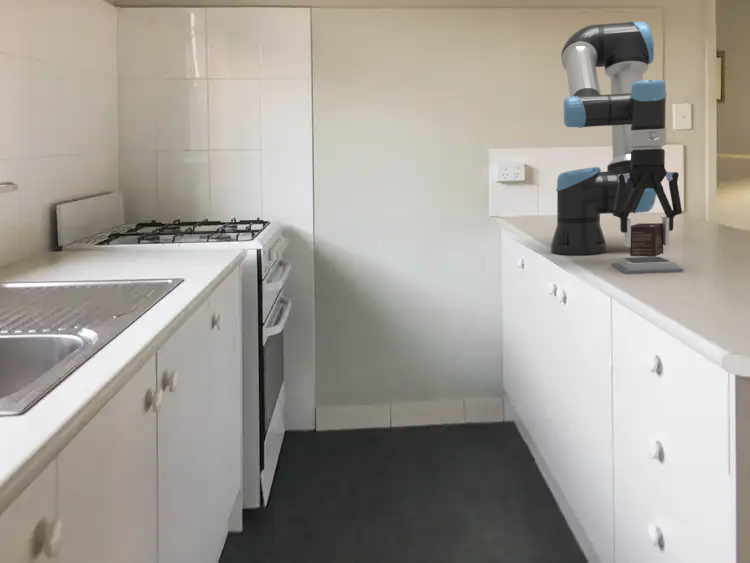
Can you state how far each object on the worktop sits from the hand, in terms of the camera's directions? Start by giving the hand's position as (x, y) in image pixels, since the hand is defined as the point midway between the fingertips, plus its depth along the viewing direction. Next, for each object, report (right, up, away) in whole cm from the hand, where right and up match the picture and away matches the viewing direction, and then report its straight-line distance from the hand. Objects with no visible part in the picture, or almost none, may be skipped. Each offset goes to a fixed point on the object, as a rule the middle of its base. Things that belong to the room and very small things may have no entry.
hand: (646, 245), depth 181 cm
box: (0, -3, 0) cm, 3 cm away
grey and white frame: (0, -5, +1) cm, 6 cm away
